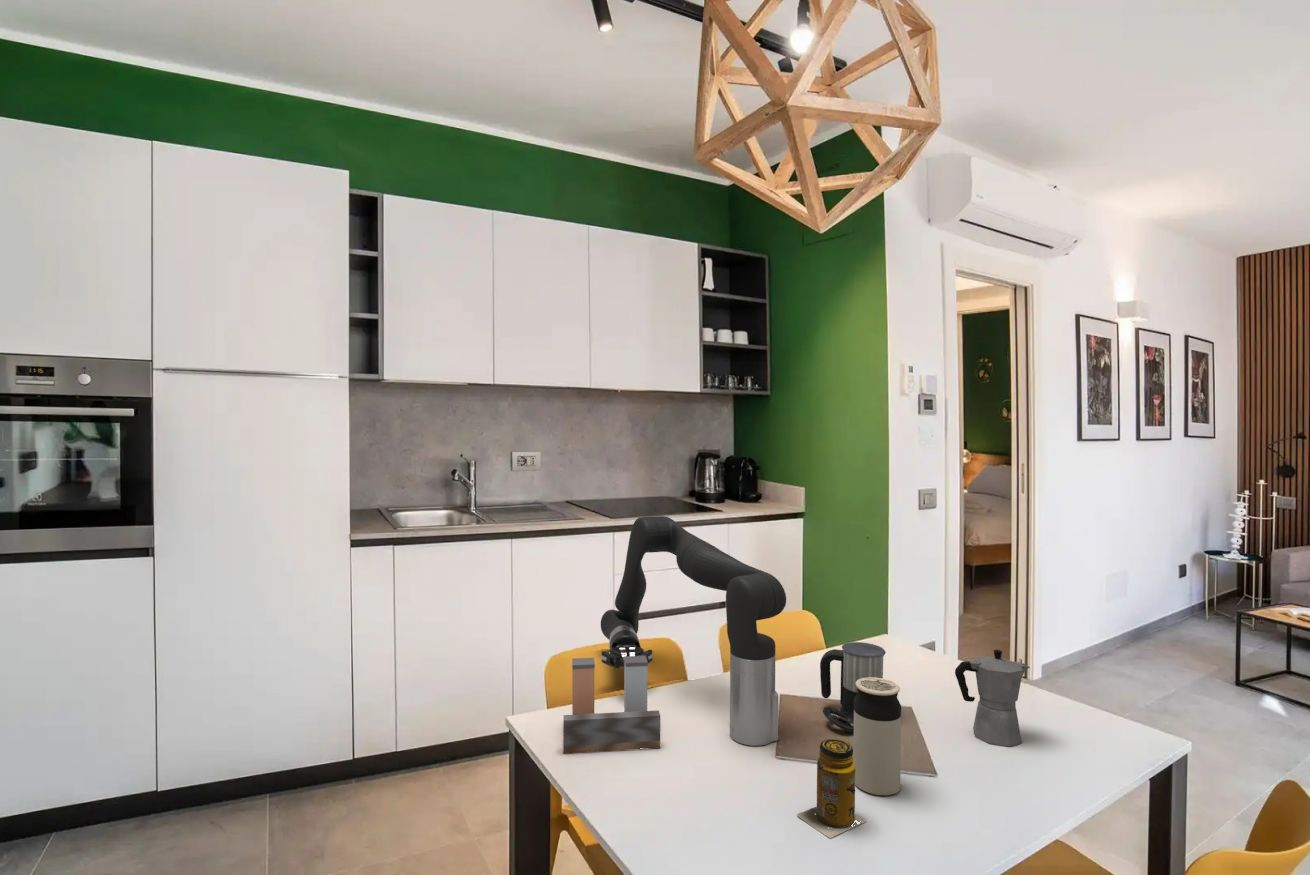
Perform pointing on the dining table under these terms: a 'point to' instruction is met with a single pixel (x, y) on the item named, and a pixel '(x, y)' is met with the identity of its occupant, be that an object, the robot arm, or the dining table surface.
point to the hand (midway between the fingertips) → (630, 669)
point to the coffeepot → (994, 697)
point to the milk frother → (849, 677)
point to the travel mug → (877, 736)
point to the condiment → (834, 790)
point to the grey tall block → (635, 683)
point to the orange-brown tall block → (583, 685)
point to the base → (611, 731)
